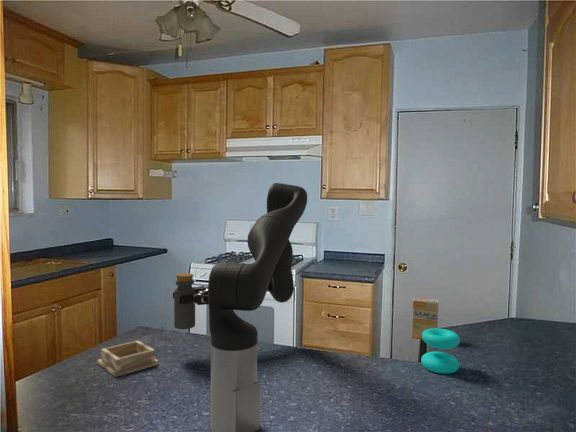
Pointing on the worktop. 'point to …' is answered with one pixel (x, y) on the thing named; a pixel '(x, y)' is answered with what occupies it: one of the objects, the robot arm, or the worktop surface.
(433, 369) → the donuts
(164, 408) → the worktop surface
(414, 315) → the supplement box
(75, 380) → the worktop surface
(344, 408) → the worktop surface
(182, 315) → the bottle
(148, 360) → the bottle holder
